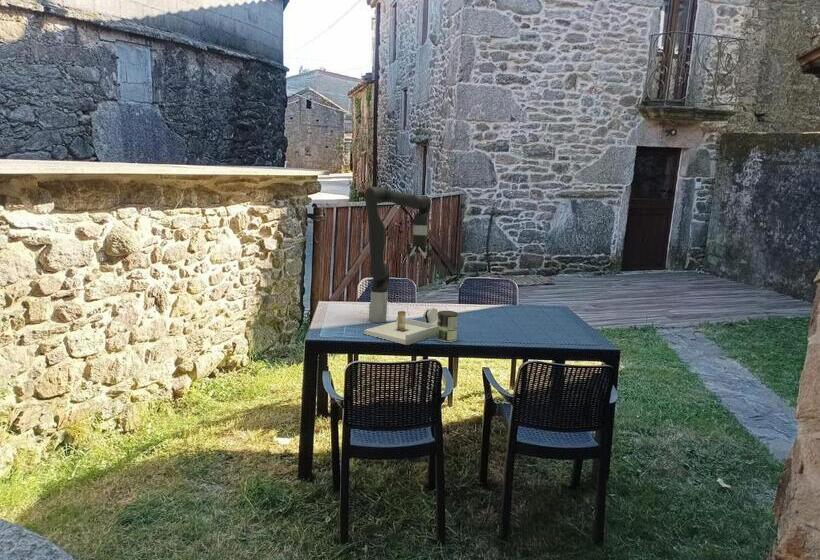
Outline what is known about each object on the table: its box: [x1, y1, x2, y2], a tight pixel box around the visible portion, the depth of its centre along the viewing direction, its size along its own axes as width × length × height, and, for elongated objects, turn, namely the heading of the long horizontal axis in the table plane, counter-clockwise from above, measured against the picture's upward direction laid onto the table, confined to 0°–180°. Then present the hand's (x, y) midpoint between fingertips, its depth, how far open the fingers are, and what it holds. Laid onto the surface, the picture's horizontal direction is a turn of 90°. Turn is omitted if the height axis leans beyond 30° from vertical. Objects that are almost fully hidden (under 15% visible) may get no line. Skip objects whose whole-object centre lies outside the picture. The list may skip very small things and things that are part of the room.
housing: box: [363, 316, 438, 346], centre depth 331 cm, size 28×28×5 cm
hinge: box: [422, 307, 439, 325], centre depth 356 cm, size 17×5×10 cm, turn 160°
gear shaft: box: [397, 310, 406, 332], centre depth 331 cm, size 4×4×12 cm
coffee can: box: [436, 310, 459, 343], centre depth 324 cm, size 10×10×14 cm
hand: (418, 264), depth 334 cm, fingers open, 8 cm apart
